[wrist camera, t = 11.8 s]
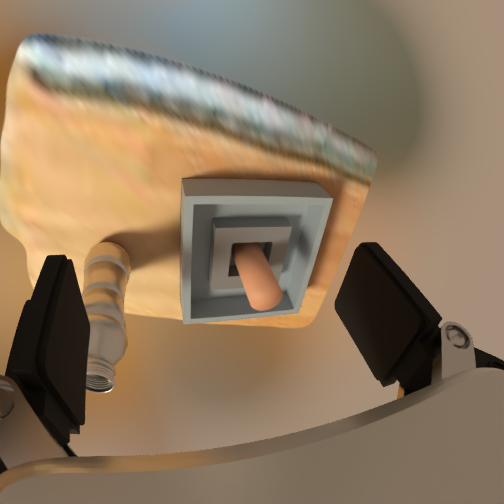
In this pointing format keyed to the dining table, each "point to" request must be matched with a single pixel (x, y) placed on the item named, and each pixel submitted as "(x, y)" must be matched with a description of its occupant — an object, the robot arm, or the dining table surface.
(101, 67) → the dining table surface
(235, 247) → the peg
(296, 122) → the dining table surface
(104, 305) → the plastic bottle
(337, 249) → the dining table surface
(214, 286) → the grey socket tray
